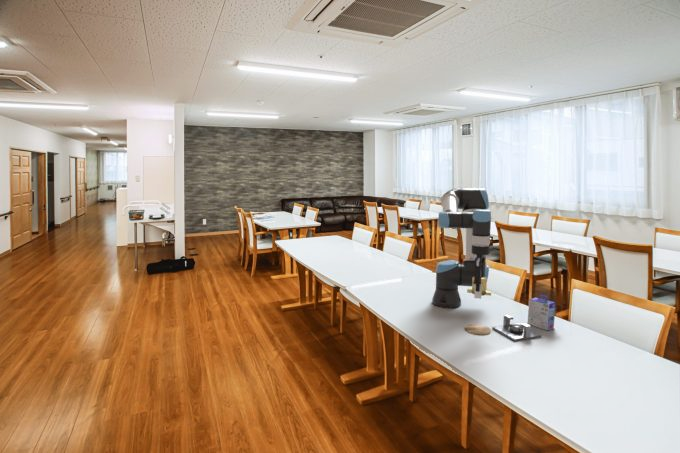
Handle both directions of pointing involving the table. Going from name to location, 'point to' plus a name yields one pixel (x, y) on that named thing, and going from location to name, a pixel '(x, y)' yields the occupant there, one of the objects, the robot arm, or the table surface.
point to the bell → (483, 288)
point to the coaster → (477, 329)
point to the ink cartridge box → (541, 313)
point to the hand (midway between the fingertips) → (479, 295)
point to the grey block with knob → (516, 330)
